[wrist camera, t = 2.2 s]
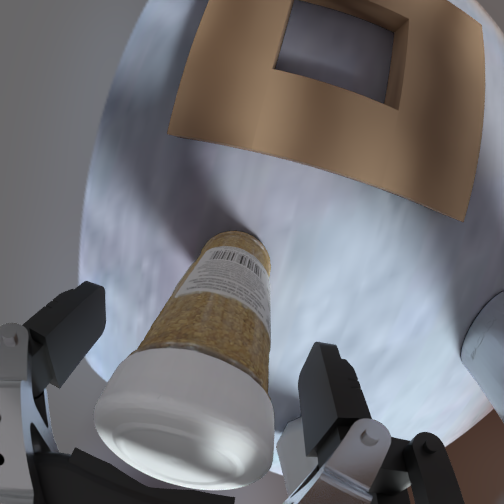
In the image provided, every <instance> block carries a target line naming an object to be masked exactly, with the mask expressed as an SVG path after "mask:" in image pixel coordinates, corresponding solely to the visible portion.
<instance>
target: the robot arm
mask: <svg viewBox="0 0 504 504" xmlns="http://www.w3.org/2000/svg"><path fill="white" fill-rule="evenodd" d="M105 324H106V310H105V289H104V287H103V286H100V285H97V284H94V283H91V282H88V281H85V282H83V283H82V284H81V285H79V286H78V287H77V288H76V289H71V290H68V291H65V292H63V293H61V294H59V295H58V296H57V297H56V298H54V299H53V301H51V302H50V303H48V304H47V305H46V307H43V308H42V309H41V310H40V311H38V312H37V313H36V314H35V315H34V316H32V317H31V318H30V319H29V320H28V321H27V322H25V323H24V324H23V325H21V324H17V323H6V324H3V325H1V326H0V504H234V502H235V497H228V496H222V495H216V494H210V493H205V492H200V491H195V490H177V489H160V488H151V487H147V486H145V485H143V484H141V483H139V482H138V481H136V480H135V479H133V478H131V477H129V476H128V475H126V474H125V473H123V472H122V471H120V470H119V469H117V468H116V467H114V466H113V465H111V464H110V463H107V462H105V461H102V460H100V459H98V458H96V457H94V456H92V455H90V454H88V453H86V452H84V451H81V450H79V449H78V448H75V449H74V451H73V453H72V455H70V454H65V453H59V450H58V447H57V444H56V442H55V440H54V436H53V433H52V428H51V421H50V414H49V406H48V398H47V391H46V387H47V385H48V384H49V383H51V384H52V385H54V386H56V387H58V388H61V386H62V385H63V384H64V382H65V381H66V380H67V378H68V377H69V376H70V374H71V373H72V372H73V370H74V369H75V368H76V366H77V365H78V364H79V363H80V361H81V360H82V359H83V358H84V356H85V355H86V354H87V353H88V351H89V350H90V349H91V347H92V346H93V345H94V344H95V343H96V341H97V340H98V339H99V338H100V336H101V335H102V333H103V331H104V329H105ZM461 359H462V362H463V364H464V366H465V367H466V368H467V370H468V371H469V372H470V374H471V375H472V377H473V378H474V379H475V381H476V382H477V383H478V385H479V386H480V388H481V389H482V391H483V392H484V394H485V395H486V397H487V398H488V400H489V401H490V403H491V404H492V406H493V407H494V409H495V410H496V412H497V413H498V414H499V416H500V418H501V419H502V421H503V422H504V291H503V292H501V293H500V294H498V295H497V296H495V297H494V298H493V299H492V300H491V301H490V302H488V304H487V305H486V306H485V307H484V308H483V309H482V310H481V312H480V313H479V315H478V316H477V317H476V319H475V320H474V322H473V324H472V326H471V327H470V329H469V331H468V333H467V335H466V338H465V340H464V343H463V347H462V352H461ZM357 380H358V378H357V376H356V373H355V370H354V368H353V367H352V366H351V365H350V364H349V363H348V361H347V360H346V359H341V357H340V354H339V351H338V348H337V346H336V345H334V344H327V343H321V342H315V343H314V345H313V347H312V349H311V351H310V353H309V355H308V357H307V360H306V362H305V364H304V366H303V368H302V370H301V372H300V375H299V380H298V391H299V399H300V407H301V416H302V425H303V434H304V443H305V453H306V457H317V458H318V464H317V465H316V466H315V467H314V469H313V470H312V471H311V472H310V473H309V475H308V476H307V477H306V478H305V479H304V481H303V482H302V483H301V484H300V485H299V486H298V488H297V489H296V490H295V491H294V492H293V493H292V494H291V495H290V496H289V498H288V499H287V500H286V501H285V502H284V503H283V504H410V500H409V495H408V491H407V487H409V486H410V485H411V487H412V491H413V496H414V500H415V504H464V501H463V498H462V494H461V491H460V488H459V485H458V482H457V479H456V476H455V473H454V471H453V468H452V466H451V463H450V460H449V457H448V455H447V452H446V450H445V447H444V445H443V443H442V441H441V440H440V439H439V438H438V437H437V436H435V435H434V434H432V433H429V432H421V433H419V434H417V435H416V436H415V437H414V438H413V439H412V440H411V441H407V440H403V439H398V438H393V437H391V435H390V433H389V431H388V429H387V428H386V427H385V426H384V425H383V424H382V423H380V422H378V421H376V420H373V419H372V418H371V415H370V412H369V409H368V406H367V403H366V401H365V398H364V395H363V392H362V390H360V389H361V387H360V384H359V381H357Z"/></svg>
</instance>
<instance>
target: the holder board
mask: <svg viewBox="0 0 504 504" xmlns="http://www.w3.org/2000/svg"><path fill="white" fill-rule="evenodd" d="M300 1H304V2H308V3H312V4H316V5H320V6H324V7H327V8H330V9H334V10H337V11H340V12H343V13H346V14H349V15H352V16H355V17H358V18H360V19H363V20H366V21H368V22H371V23H373V24H376V25H378V26H380V27H383V28H385V29H387V30H390V31H392V32H394V40H393V49H392V57H391V65H390V72H389V78H388V85H387V91H386V96H385V102H384V104H382V103H380V102H378V101H375V100H373V99H370V98H368V97H365V96H363V95H360V94H357V93H355V92H352V91H349V90H346V89H343V88H340V87H337V86H334V85H331V84H328V83H325V82H322V81H318V80H315V79H311V78H308V77H304V76H300V75H296V74H293V73H288V72H284V71H280V70H275V68H276V64H277V60H278V57H279V53H280V49H281V46H282V42H283V38H284V35H285V31H286V28H287V24H288V21H289V17H290V14H291V10H292V7H293V3H294V0H209V2H208V4H207V7H206V9H205V12H204V14H203V17H202V19H201V22H200V24H199V27H198V30H197V33H196V35H195V38H194V41H193V44H192V47H191V50H190V53H189V56H188V59H187V62H186V65H185V68H184V71H183V75H182V78H181V82H180V85H179V88H178V92H177V96H176V99H175V103H174V107H173V111H172V115H171V119H170V123H169V127H168V131H167V134H169V135H173V136H176V137H180V138H186V139H192V140H198V141H203V142H209V143H214V144H220V145H225V146H230V147H235V148H239V149H244V150H248V151H253V152H257V153H261V154H266V155H270V156H274V157H278V158H282V159H286V160H289V161H293V162H297V163H301V164H304V165H308V166H311V167H315V168H318V169H321V170H325V171H328V172H331V173H335V174H338V175H341V176H344V177H347V178H350V179H353V180H356V181H359V182H362V183H365V184H368V185H371V186H373V187H376V188H379V189H382V190H384V191H387V192H390V193H392V194H395V195H398V196H400V197H403V198H405V199H408V200H410V201H413V202H415V203H418V204H420V205H423V206H425V207H427V208H430V209H432V210H434V211H436V212H439V213H441V214H443V215H446V216H449V217H451V218H454V219H456V220H459V221H461V222H464V218H465V215H466V211H467V208H468V204H469V200H470V196H471V192H472V188H473V183H474V178H475V174H476V168H477V163H478V157H479V151H480V144H481V137H482V128H483V117H484V103H485V57H484V42H483V33H482V25H481V24H480V23H478V22H477V21H476V20H474V19H473V18H472V17H470V16H469V15H468V14H466V13H465V12H464V11H462V10H461V9H459V8H458V7H456V6H455V5H453V4H452V3H450V2H449V1H447V0H300Z"/></svg>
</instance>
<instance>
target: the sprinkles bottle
mask: <svg viewBox="0 0 504 504" xmlns="http://www.w3.org/2000/svg"><path fill="white" fill-rule="evenodd" d="M270 270H271V264H270V257H269V255H268V252H267V250H266V249H265V247H264V246H263V244H262V243H261V242H260V241H259V240H257V239H256V238H255V237H253V236H251V235H249V234H247V233H244V232H239V231H228V232H224V233H220V234H218V235H216V236H214V237H213V238H211V239H210V240H209V241H208V242H207V243H206V245H205V246H204V247H203V249H202V251H201V254H200V256H199V257H198V259H197V260H196V261H195V262H194V263H193V264H192V265H191V266H190V267H189V269H188V270H187V271H186V273H185V274H184V276H183V277H182V278H181V280H180V281H179V283H178V284H177V286H176V287H175V289H174V291H173V294H172V296H171V297H170V298H169V300H168V302H167V303H166V304H165V306H164V308H163V309H162V311H161V312H160V314H159V316H158V317H157V318H156V320H155V321H154V323H153V324H152V326H151V328H150V330H149V331H148V333H147V335H146V336H145V338H144V340H143V341H142V342H141V344H140V345H139V347H138V349H137V350H135V351H133V352H132V353H131V354H130V355H129V356H128V357H127V358H126V359H125V360H124V361H122V362H121V363H120V364H119V366H118V367H117V369H116V370H115V372H114V373H113V375H112V377H111V378H110V380H109V381H108V383H107V385H106V386H105V388H104V390H103V392H102V394H101V395H100V397H99V399H98V401H97V403H96V405H95V408H94V412H93V420H94V424H95V428H96V430H97V432H98V434H99V435H100V437H101V439H102V440H103V441H104V443H105V444H106V445H107V446H108V447H109V448H110V449H111V450H112V451H113V452H114V453H115V454H116V455H117V456H118V457H120V458H121V459H122V460H124V461H125V462H126V463H128V464H129V465H131V466H133V467H134V468H136V469H138V470H140V471H141V472H143V473H145V474H147V475H150V476H152V477H154V478H157V479H159V480H162V481H165V482H168V483H171V484H175V485H179V486H183V487H188V488H194V489H202V490H203V489H204V490H228V489H235V488H239V487H243V486H246V485H250V484H252V483H254V482H256V481H258V480H259V479H261V478H262V477H263V476H264V475H265V474H266V473H267V472H268V471H269V469H270V468H271V465H272V461H273V450H274V410H273V405H272V403H271V399H270V397H269V395H268V374H269V372H268V365H269V352H270V345H271V323H270V280H269V276H270Z"/></svg>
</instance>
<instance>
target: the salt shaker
mask: <svg viewBox="0 0 504 504" xmlns="http://www.w3.org/2000/svg"><path fill="white" fill-rule="evenodd" d="M276 448H277V452H278V456H279V460H280V464H281V468H282V472H283V476H284V480H285V485H286V488H287V493H288V497H289V496H290V495H291V494H292V493H293V492H294V491H295V490H296V489H297V488H298V486H299V485H300V484H301V483H302V482H303V481H304V479H305V478H306V477H307V476H308V475H309V473H310V472H311V471H312V470H313V469H314V467H315V466H316V465H317V464H318V458H317V457H306V453H305V443H304V434H303V425H302V417H300V418H297V419H295V420H293V421H290V422H288V424H287V426H286V428H285V429H284V431H283V433H282V435H281V437H280V439H279V440H278V442H277V446H276Z"/></svg>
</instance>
